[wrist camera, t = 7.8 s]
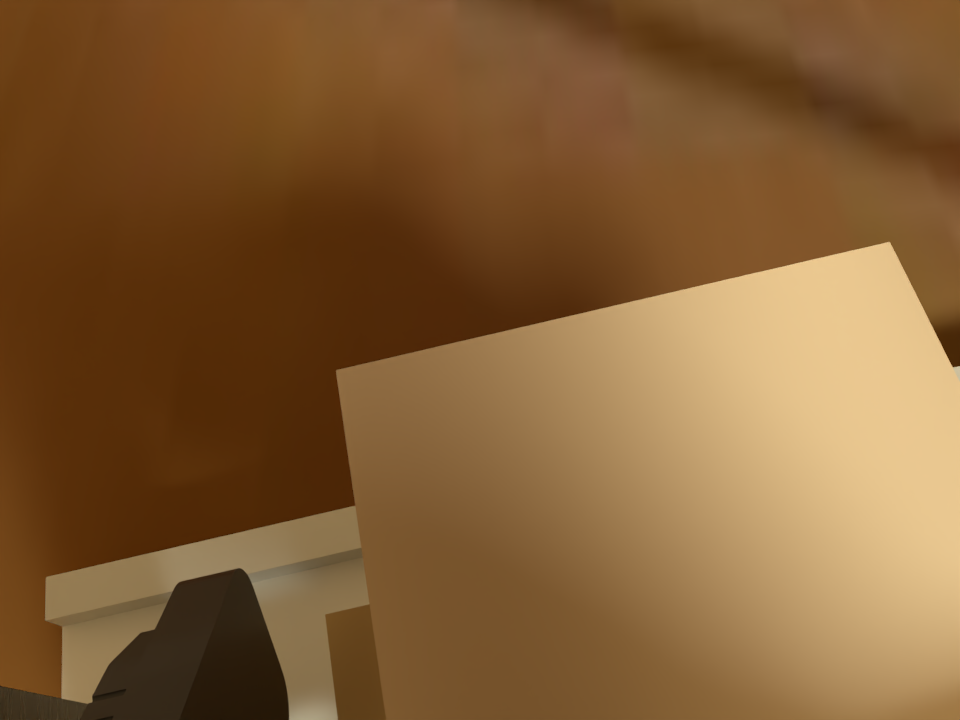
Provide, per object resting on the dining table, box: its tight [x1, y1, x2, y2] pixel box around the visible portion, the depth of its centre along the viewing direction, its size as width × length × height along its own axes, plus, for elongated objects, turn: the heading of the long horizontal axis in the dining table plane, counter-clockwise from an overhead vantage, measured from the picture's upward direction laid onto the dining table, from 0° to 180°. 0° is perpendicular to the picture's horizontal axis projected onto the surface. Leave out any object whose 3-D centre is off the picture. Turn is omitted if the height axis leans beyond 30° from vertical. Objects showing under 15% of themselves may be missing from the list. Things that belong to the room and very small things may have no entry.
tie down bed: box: [45, 366, 960, 720], centre depth 15 cm, size 24×9×1 cm, turn 102°
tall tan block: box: [325, 242, 960, 720], centre depth 10 cm, size 11×4×10 cm, turn 102°
